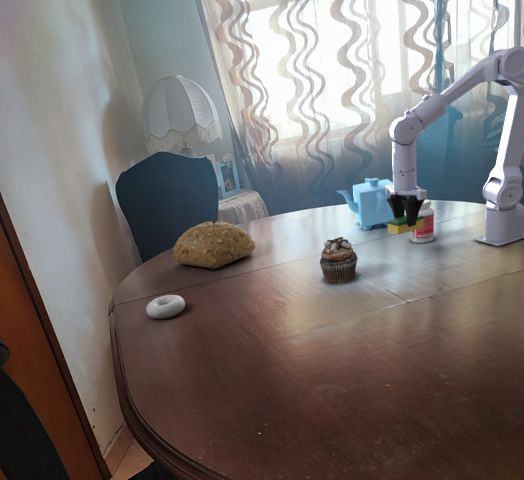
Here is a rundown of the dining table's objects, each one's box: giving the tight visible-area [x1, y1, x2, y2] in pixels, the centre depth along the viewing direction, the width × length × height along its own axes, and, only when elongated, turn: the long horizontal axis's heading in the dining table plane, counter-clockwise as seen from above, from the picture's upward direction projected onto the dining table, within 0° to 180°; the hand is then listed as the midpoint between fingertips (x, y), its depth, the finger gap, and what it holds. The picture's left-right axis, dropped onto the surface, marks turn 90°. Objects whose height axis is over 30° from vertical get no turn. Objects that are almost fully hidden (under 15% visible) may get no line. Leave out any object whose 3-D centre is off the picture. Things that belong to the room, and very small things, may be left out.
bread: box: [172, 220, 256, 270], centre depth 150 cm, size 24×21×12 cm
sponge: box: [387, 214, 424, 236], centre depth 122 cm, size 8×4×3 cm, turn 112°
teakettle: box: [335, 177, 395, 231], centre depth 154 cm, size 19×19×15 cm
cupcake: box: [319, 236, 358, 284], centre depth 118 cm, size 10×10×10 cm
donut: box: [145, 294, 186, 320], centre depth 118 cm, size 10×3×10 cm
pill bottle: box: [410, 199, 435, 244], centre depth 132 cm, size 6×6×11 cm
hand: (405, 224), depth 122 cm, fingers closed on sponge, 4 cm apart
